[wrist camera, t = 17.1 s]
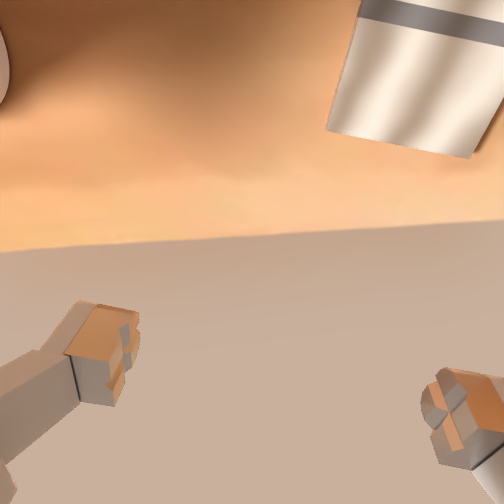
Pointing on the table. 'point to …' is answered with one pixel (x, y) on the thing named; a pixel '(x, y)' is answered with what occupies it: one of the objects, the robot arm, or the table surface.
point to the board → (422, 74)
